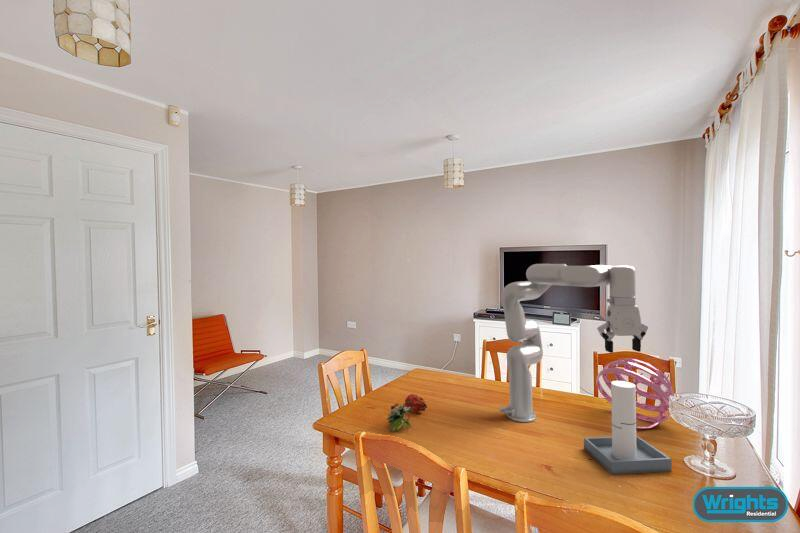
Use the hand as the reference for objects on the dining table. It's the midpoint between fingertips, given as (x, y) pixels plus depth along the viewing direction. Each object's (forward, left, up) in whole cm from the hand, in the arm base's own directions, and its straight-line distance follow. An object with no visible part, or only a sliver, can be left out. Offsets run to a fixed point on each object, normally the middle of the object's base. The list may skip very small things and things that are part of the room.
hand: (622, 351), depth 124 cm
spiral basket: (+24, +27, -38) cm, 52 cm away
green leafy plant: (-76, +32, -38) cm, 91 cm away
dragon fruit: (-68, +47, -38) cm, 91 cm away
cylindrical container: (0, 0, -37) cm, 37 cm away
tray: (0, 0, -37) cm, 37 cm away
